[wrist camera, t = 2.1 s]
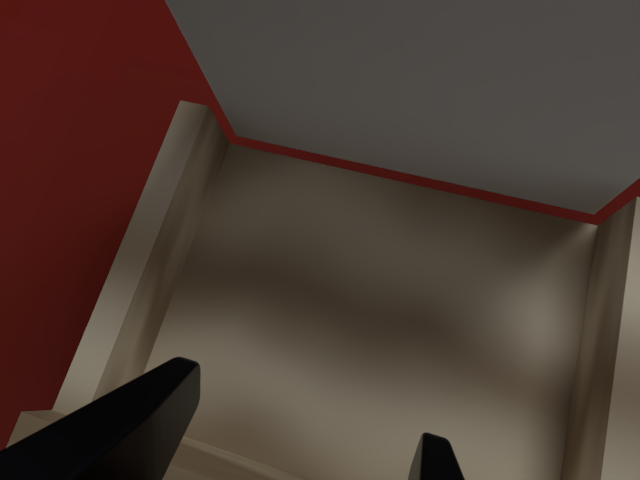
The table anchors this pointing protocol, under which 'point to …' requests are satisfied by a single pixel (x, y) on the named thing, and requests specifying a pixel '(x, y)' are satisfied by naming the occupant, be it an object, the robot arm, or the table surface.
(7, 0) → the table surface
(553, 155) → the panel
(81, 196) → the table surface
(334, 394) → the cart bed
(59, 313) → the table surface
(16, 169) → the table surface
